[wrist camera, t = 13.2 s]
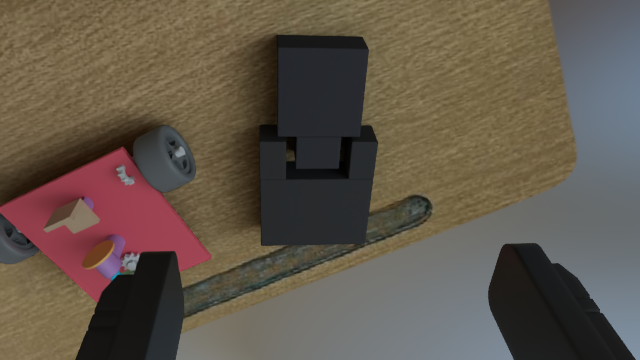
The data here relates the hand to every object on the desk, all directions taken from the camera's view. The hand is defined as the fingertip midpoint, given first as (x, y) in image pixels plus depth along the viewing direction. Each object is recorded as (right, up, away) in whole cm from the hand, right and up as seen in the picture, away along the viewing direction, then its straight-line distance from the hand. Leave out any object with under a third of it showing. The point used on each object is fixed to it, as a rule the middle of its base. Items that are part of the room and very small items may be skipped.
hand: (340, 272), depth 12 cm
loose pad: (-1, +8, +22) cm, 23 cm away
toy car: (-15, 0, +26) cm, 30 cm away
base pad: (-1, +2, +25) cm, 25 cm away
